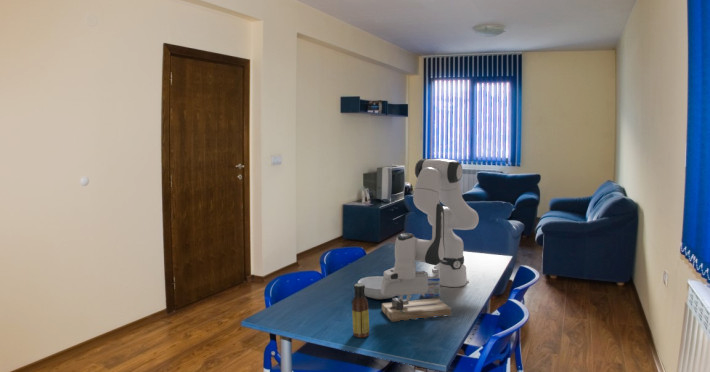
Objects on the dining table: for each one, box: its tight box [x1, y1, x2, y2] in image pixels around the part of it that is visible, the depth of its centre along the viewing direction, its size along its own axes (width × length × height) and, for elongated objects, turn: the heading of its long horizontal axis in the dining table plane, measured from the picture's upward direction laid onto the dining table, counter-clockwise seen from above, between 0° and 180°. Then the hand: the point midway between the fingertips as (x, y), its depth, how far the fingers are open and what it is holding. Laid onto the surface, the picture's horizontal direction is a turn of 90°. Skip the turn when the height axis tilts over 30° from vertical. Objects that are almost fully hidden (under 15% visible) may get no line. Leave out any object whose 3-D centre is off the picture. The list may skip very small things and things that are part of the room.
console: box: [381, 298, 452, 323], centre depth 220 cm, size 14×26×3 cm, turn 105°
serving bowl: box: [357, 275, 396, 300], centre depth 242 cm, size 21×21×7 cm
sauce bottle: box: [351, 282, 370, 338], centre depth 196 cm, size 6×6×20 cm
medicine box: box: [420, 276, 441, 298], centre depth 243 cm, size 8×4×9 cm, turn 105°
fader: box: [391, 297, 403, 310], centre depth 218 cm, size 6×3×3 cm, turn 15°
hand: (404, 304), depth 219 cm, fingers closed
